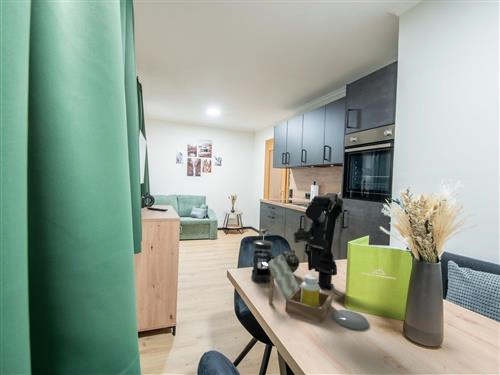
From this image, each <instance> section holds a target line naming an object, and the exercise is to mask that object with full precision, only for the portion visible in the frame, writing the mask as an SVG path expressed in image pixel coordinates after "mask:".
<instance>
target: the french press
mask: <svg viewBox="0 0 500 375" xmlns="http://www.w3.org/2000/svg"><path fill="white" fill-rule="evenodd" d="M259 231H261V232H262V234H263V237H262V239H261V240H259V239H258V240H257V239H256V240H253V244H254V248H255V249H256V250H254V251H253V252H252V257H253V264H252V266H253V267H252V270H251V276H250V279H251V281H253V282H255V283H261V284H266V283H270V277H271V271H270V269H269V267H268V265H267V263H268V262H269V261H271V260H273V259H274V258H276V256H273V252H271V251H269V250H272V249H273V245H274V242H273V241H269V240H265V234H266V232H269V229H267V228H261V229H260V228H259ZM257 249H258V250H257ZM264 254H265V255H264ZM259 259H261V261H259ZM264 260H266V262H265V261H264ZM263 261H264V262H263Z"/></svg>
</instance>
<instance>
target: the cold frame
mask: <svg viewBox="0 0 500 375" xmlns="http://www.w3.org/2000/svg"><path fill="white" fill-rule="evenodd" d="M267 265H268V267H269V269H270V271H271V277H270V282H269V283H270V284H269V296H268V297H269V298H268V304H269V305H272V304H273V300H274V288H275V287H274V286H275V285H274V284H275V283H276V285H277V287H278V289H279V291H280V292H281V294H282V296H283V299H284V300H285V307H284V308H285V309H284V311H285V312H287V313H290V314H293V315H296V316H300V317H303V318H306V319H310V320H312V321H315V322H318V323H322V324H323V323H324V321H325V320H326V317H327V315H328V313H329V311H330V309H331V307H332V304H333V295H332V294H329V293H326V292H321V291H319V304H321V305H322V306H321V308H320V307H318V308H317V307H314V306H310V305H307V304H303V303H300V302H301V301H300V302H299V301H298V300H299V299H301V286H300V285H299V283H298V281H297V279H296V276H295V277H294V275H293V274H294V273H292V271H291V269H290V268H289V266H288V264H287V262H286V260H285V258H284V256H283V254H282V253H280V254H279V255H278V256H275V258H274V259H273V260H272V259H271V261H269V262H268V263H267Z"/></svg>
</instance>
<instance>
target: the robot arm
mask: <svg viewBox="0 0 500 375" xmlns="http://www.w3.org/2000/svg"><path fill="white" fill-rule="evenodd" d="M344 205H345V204H344V201H343V200H342V199H341V198H340V197H339V194H338V193H334V192H328V193H327V192H326V194H325V195H323V196H320V195H315V196H313V198H312V199H311V201H310V203H309V205H308V206H307V207H306V209H305V213H304V214H305V216H306V218H307V219H308V220H309V221H310V227H309V229H308V231H306V230H304V228H302V227H301V228H297V231H295V232H294V233H293V235H292V236H293V241H294V243H295V244H298V243H301V242H306V244H305V245H304V249H303V251H304V253H305V254H306V256H307V268H308V271H312V270H314V272H317V273H318V276H317V277H318V281H317V284H318V285H319V287H320V288H321V289H324V290H328V291H331V290H332V289H333V287H334V283H332V282H333V281H332V279H333V276H337V275H338V268H337V262H336V258H335V255H334V253H333V250H334V249H333V248H334V244H335V237H336V230H337V226H338V225H337V224H338V222H339V221H340V219H342V217H343V216H342V215H343V214H344V211H345V206H344Z"/></svg>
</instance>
